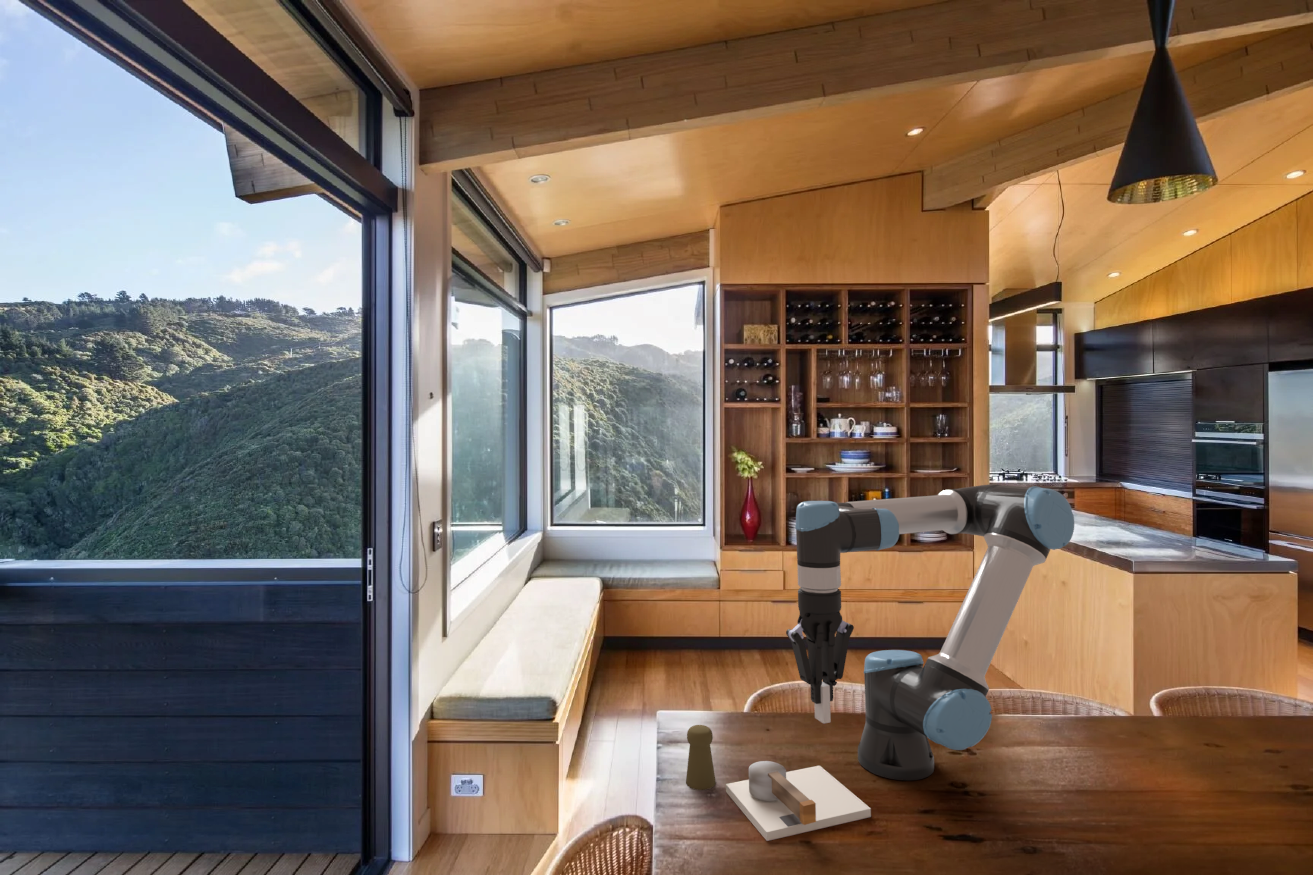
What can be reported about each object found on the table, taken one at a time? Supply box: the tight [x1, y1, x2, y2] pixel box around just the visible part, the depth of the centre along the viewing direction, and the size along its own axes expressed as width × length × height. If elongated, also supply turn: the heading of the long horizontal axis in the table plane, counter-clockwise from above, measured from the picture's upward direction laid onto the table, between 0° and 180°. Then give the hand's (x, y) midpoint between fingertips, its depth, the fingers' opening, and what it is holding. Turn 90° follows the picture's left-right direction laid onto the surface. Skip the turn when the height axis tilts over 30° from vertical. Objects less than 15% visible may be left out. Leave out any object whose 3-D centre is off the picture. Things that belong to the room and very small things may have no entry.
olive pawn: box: [685, 724, 717, 791], centre depth 134 cm, size 6×6×11 cm
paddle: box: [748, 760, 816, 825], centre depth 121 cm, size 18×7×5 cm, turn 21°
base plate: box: [725, 765, 872, 842], centre depth 125 cm, size 21×17×2 cm
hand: (822, 719), depth 119 cm, fingers closed
